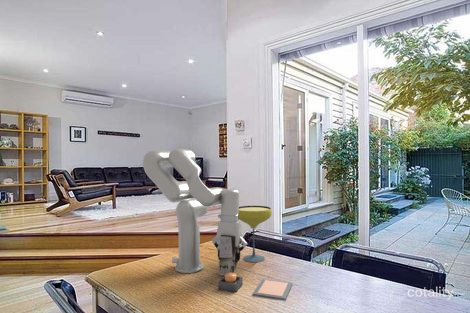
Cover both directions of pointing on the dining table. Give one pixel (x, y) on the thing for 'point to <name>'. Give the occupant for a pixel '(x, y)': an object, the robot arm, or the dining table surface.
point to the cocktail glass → (254, 224)
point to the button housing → (230, 285)
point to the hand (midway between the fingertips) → (228, 259)
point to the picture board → (273, 289)
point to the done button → (230, 277)
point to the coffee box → (227, 255)
